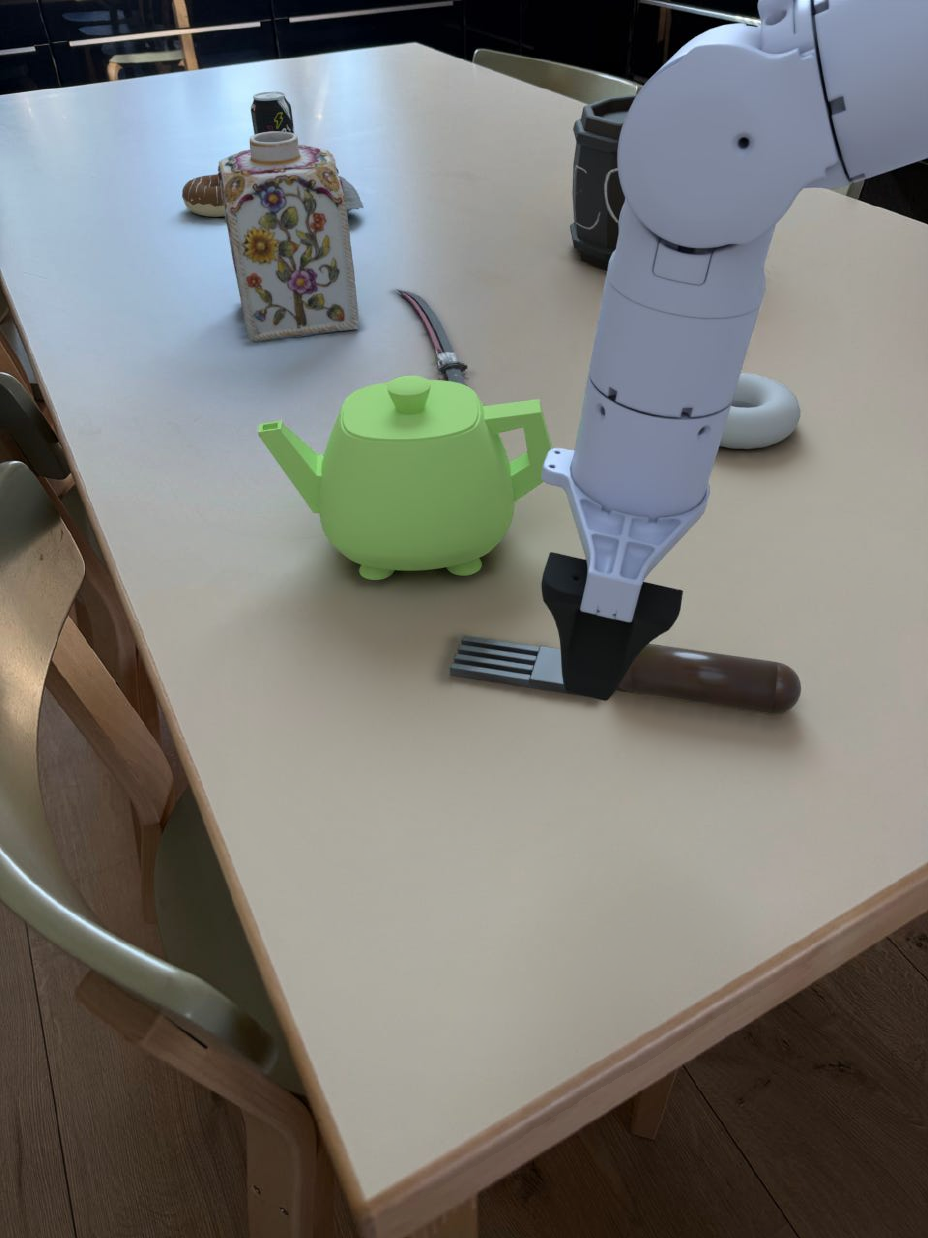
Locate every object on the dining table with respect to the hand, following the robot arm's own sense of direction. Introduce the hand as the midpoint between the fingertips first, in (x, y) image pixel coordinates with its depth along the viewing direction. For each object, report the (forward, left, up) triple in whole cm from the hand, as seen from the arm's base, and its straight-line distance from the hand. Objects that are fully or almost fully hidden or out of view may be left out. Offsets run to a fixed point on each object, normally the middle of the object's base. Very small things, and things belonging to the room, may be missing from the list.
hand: (599, 637), depth 48 cm
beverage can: (+117, -40, -10) cm, 124 cm away
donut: (+23, -36, -10) cm, 44 cm away
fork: (+5, -6, -10) cm, 13 cm away
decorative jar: (+69, -18, -10) cm, 72 cm away
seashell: (+98, -38, -10) cm, 105 cm away
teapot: (+25, -5, -10) cm, 27 cm away
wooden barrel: (+60, -60, -10) cm, 85 cm away
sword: (+54, -25, -10) cm, 60 cm away
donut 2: (+111, -28, -10) cm, 115 cm away
